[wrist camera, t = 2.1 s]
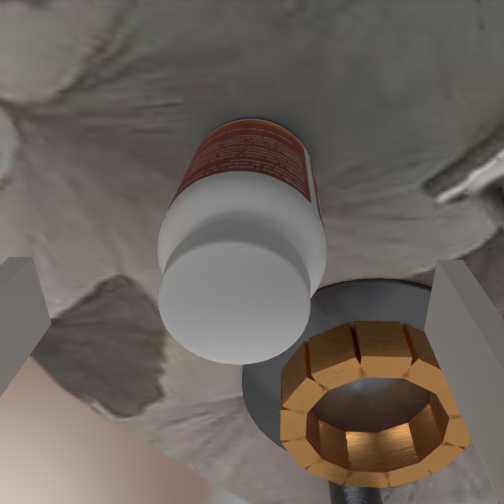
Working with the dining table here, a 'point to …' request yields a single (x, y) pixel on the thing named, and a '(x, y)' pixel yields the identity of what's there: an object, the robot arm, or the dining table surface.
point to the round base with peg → (360, 392)
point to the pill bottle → (242, 245)
